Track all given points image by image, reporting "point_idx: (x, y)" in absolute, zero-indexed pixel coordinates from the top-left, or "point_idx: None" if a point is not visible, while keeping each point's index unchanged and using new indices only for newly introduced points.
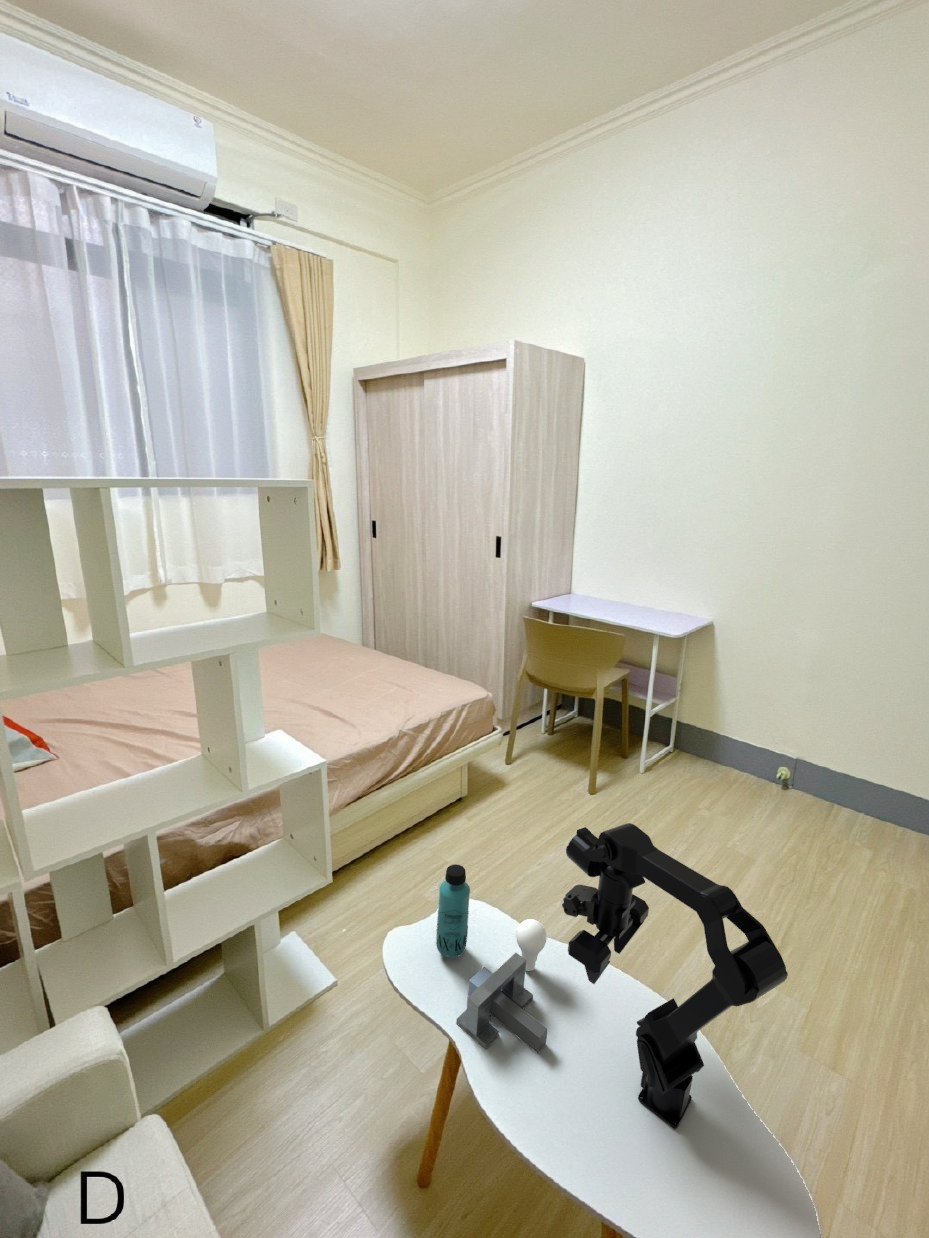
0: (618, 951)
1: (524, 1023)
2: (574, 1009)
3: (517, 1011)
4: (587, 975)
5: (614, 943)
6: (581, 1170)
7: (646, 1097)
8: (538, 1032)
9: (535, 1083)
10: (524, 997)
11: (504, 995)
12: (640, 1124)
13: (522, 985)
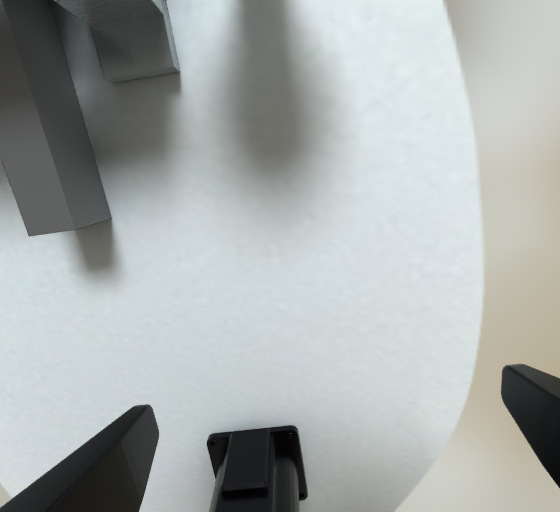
0: (511, 404)
1: (10, 162)
2: (270, 194)
3: (12, 105)
4: (91, 440)
5: (554, 402)
6: (6, 436)
7: (222, 449)
8: (38, 219)
9: (18, 274)
10: (137, 53)
11: (2, 5)
12: (174, 457)
13: (145, 8)
